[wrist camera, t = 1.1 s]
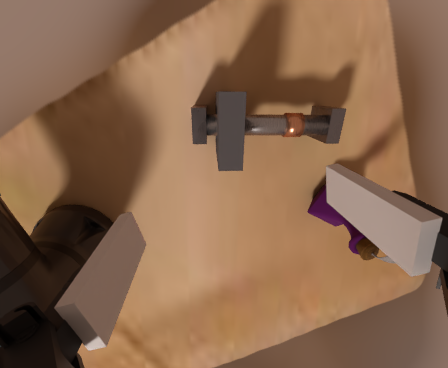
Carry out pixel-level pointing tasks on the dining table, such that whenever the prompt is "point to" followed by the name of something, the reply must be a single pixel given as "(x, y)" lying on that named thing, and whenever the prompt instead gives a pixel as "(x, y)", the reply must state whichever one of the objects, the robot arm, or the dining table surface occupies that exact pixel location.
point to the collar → (230, 130)
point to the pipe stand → (276, 124)
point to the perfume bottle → (358, 240)
